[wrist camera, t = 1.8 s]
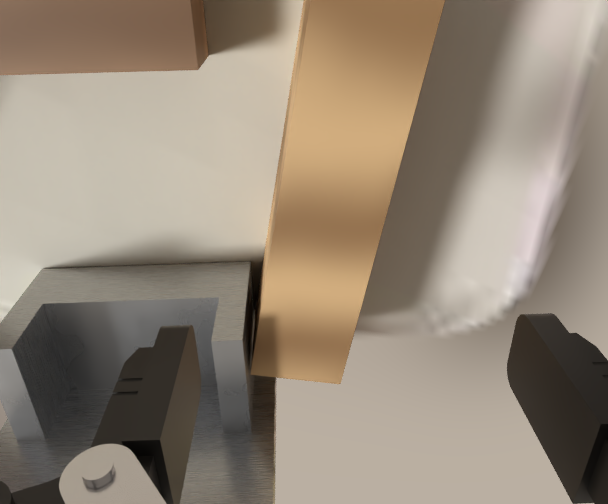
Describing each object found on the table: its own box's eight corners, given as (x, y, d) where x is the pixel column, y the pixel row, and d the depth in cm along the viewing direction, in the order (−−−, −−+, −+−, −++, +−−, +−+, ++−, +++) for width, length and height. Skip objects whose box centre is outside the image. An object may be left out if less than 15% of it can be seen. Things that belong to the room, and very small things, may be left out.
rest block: (-30, -57, 19) (-80, -60, 16) (196, -63, 19) (183, -65, 16) (4, 61, 21) (-36, 76, 18) (208, 55, 21) (198, 69, 18)
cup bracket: (21, 269, 25) (-116, 433, 17) (270, 260, 26) (265, 417, 17) (53, 368, 28) (-48, 550, 20) (276, 359, 29) (274, 535, 20)
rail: (309, -41, 20) (317, -40, 15) (413, -20, 20) (449, -14, 16) (255, 308, 27) (250, 374, 23) (331, 316, 28) (340, 384, 23)
